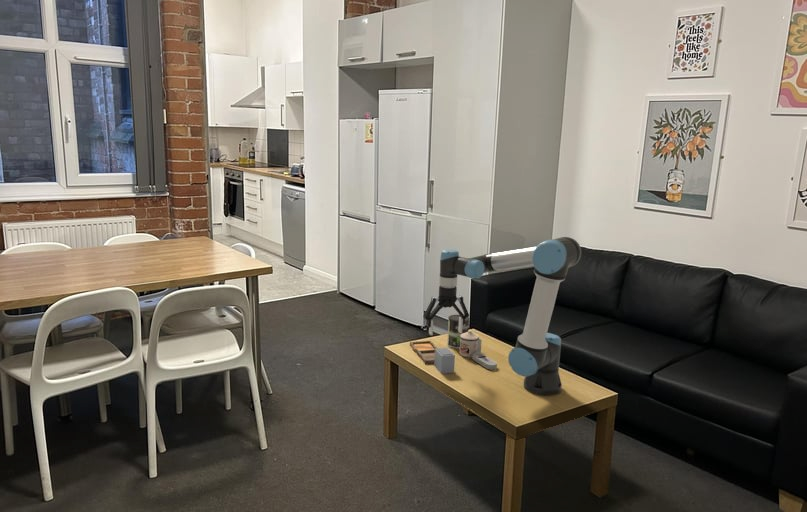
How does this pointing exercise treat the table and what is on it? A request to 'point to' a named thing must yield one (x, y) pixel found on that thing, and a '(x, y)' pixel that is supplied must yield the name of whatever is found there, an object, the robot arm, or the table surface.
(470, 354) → the teacup with lid
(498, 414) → the table surface
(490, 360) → the electronic device
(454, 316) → the coffee can
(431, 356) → the tray
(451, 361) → the grey paneled block
